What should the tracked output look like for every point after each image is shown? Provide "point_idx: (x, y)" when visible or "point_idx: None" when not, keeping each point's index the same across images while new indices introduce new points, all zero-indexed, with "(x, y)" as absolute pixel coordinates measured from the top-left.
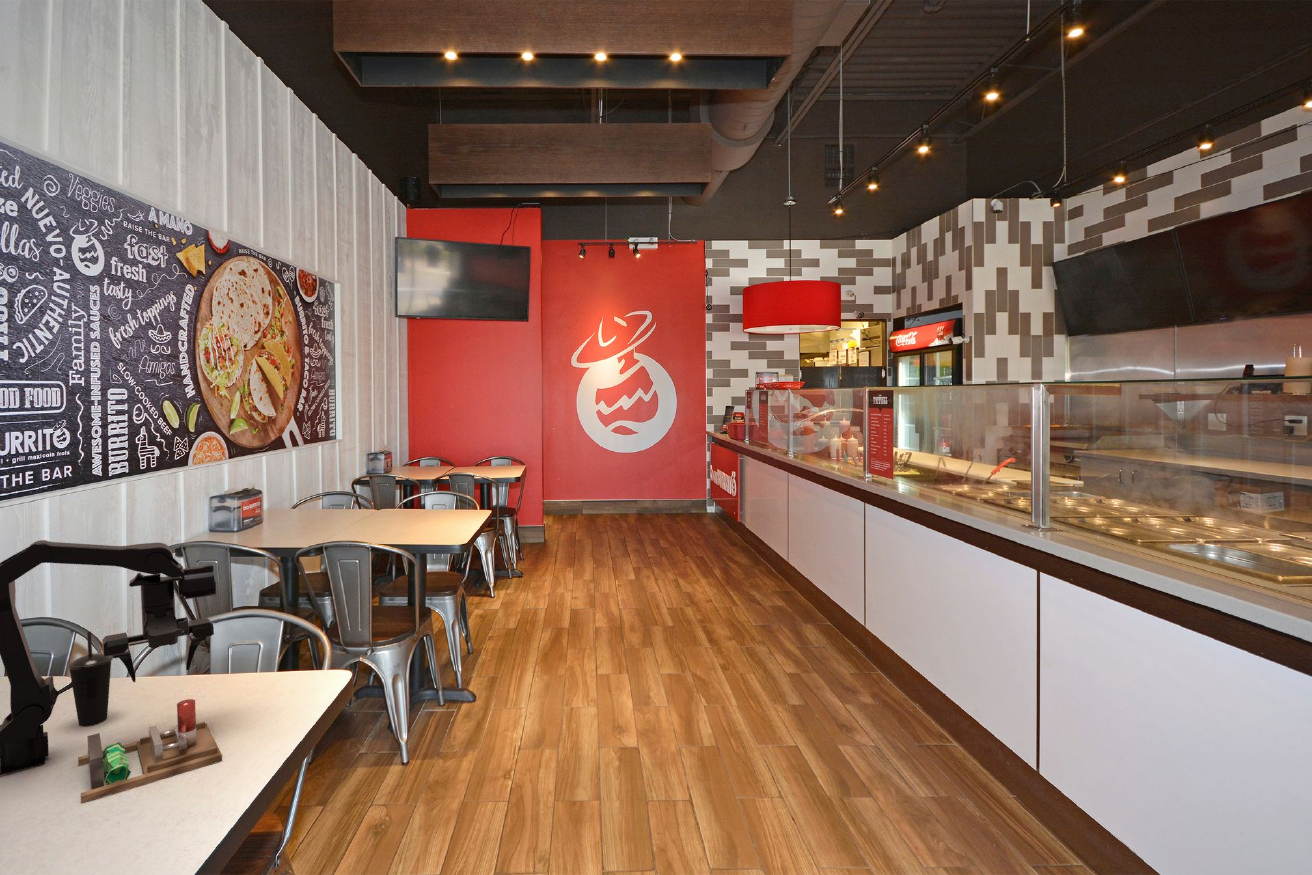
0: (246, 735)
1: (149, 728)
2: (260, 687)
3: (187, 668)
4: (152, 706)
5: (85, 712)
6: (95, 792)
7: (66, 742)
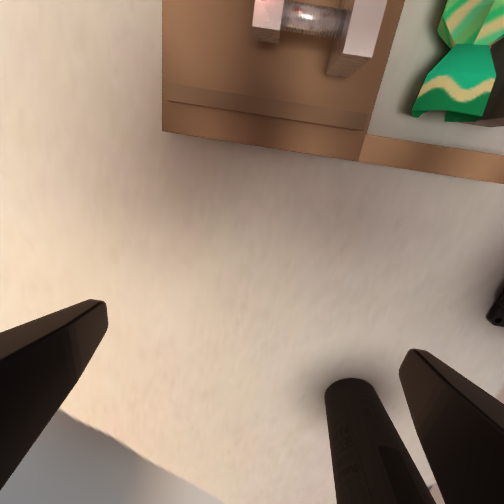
0: None
1: (376, 37)
2: (17, 307)
3: (91, 305)
4: (241, 382)
5: (384, 413)
6: None
7: (432, 335)
